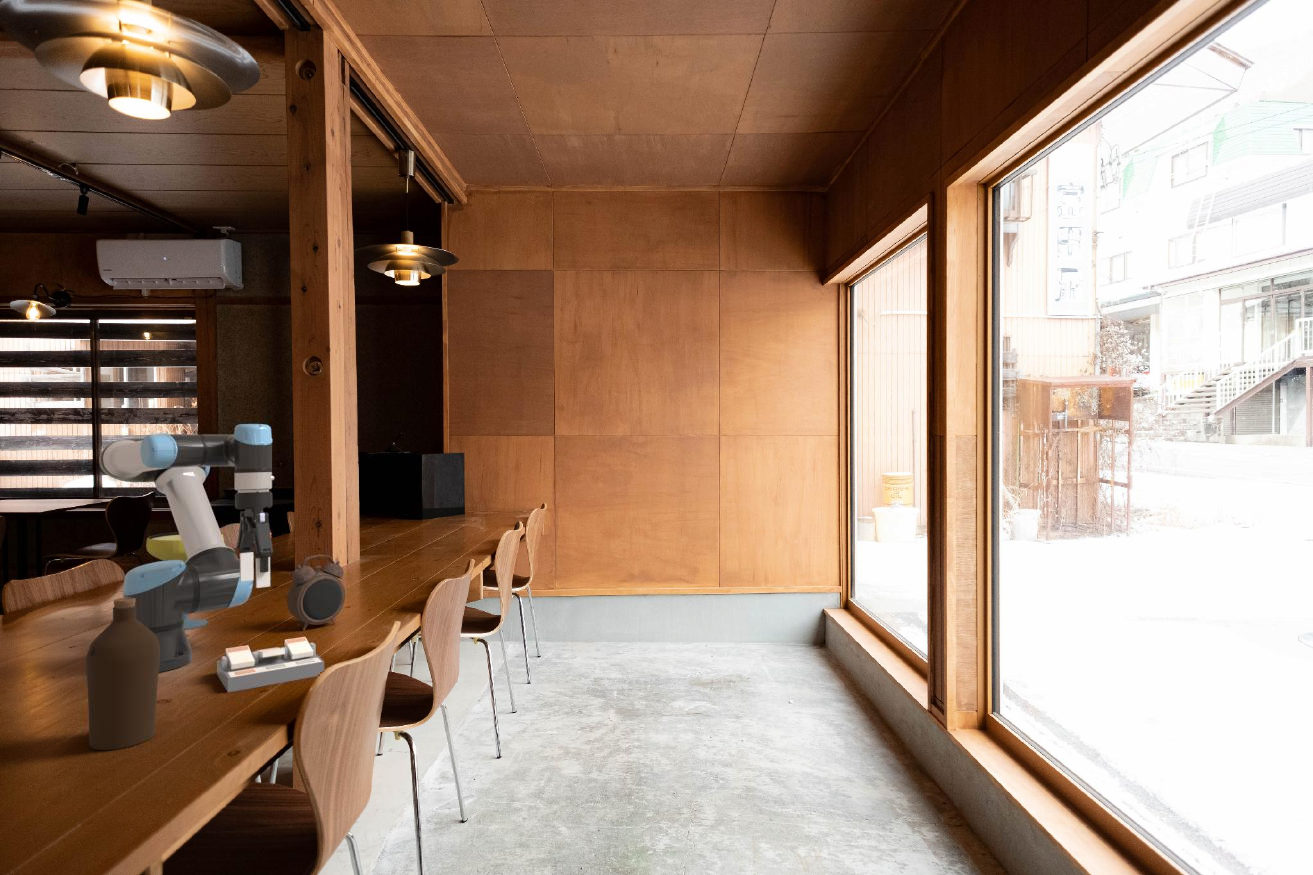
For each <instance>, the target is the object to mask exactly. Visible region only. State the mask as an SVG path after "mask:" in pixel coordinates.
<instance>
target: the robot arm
mask: <svg viewBox="0 0 1313 875" xmlns="http://www.w3.org/2000/svg"><path fill="white" fill-rule="evenodd" d="M272 454H273V438H272V428H271V426H270V425H268V424H262V423H260V424H259V423H248V424H247V423H245V424H244V423H243V424H237V425H235V427H234V432H233V434H186V433H185V434H183V433H182V434H181V433H180V434H179V433H178V434H177V433H176V434H175V433H173V434H172V433H156V434H155V433H152V434H151V433H150V434H147V435H146V436H144V437H143V438H138V437H137V438H128V439H127V438H125V439H121V440H116V441H113V442H110V443H109V444H107V445H106V446H104V447H103V449H102V450H101V451H100V454H99V458H98V461H99V467H100V468H101V470H102V471H103V472H104V473H105V474H106V475H107V476H109V477H110V478H113V479H115V480H118V481H121V482H127V483H154V485H155V488H156V489H157V492H159V493H162V494H163V495H165V496H166V499H167V501H168V505H169V508H170V511H171V514H172V517H173V519H174V523H175V525H176V528H177V531H178V532H179V534H180V537H181V540H182V543H183V546H184V549H185V552H186V555H187V557H188V559H187V561H186V562H185V563H184V562H183V561H181V560H169V561H164V560H161V561H155V562H151V563H145V564H143V565H139V566H136V567H134V568H132V569H131V570H129V571H127V573H126V574H125V576H124V579H123V580H124V581H123V590H122V595H123V598H124V597H134V598H136V602H135V605H136V619H137V620H138V621H139V622H140V623H142V624H143V625H144V626H146V627H147V628H148V629H149V630H151V631H152V632H153V633H154V634H155V635H156V637H157V639H158V641H159V645H160V660H159V673H162V672H166V671H171V670H175V669H178V668H181V667H184V666H185V665H186V666H187V664H189V663H191V662H192V661H193V649H192V647H191V646H192V645H191V644H190V641H189V639H188V637H187V633H186V631H185V630H184V615H192V614H197V613H203V612H204V613H205V612H210V611H217V610H221V609H222V610H223V609H226V610H227V609H230V608H232V607H233V608H234V607H239V606H242V605H243V604H245V603H247V601H249V598H250V597H251V594H252V591H253V590H252V589H253V584H254V577H255V588H256V589H259V588H267V587H271V556H272V555H273V556H274V549H273V542H272V535H271V530H270V529H271V528H270V522H269V521H270V520H269V517H270V515H269V512H264V509H270V508H272V507H273V493H272V491H270V490H271V489H272V488H273V481H274V480H275V476H274V475H273V472H272V471H273V468H272V467H273V465H272V463H273V461H272V460H273V456H272ZM211 467H212V468H213V467H224V468H225V467H228V468H229V467H231V468H232V467H234V490H235V491H237V492H236V493H235V494H234V507H235V509H236V510H244V511H240V512H239V518H240V519H239V528H238V537H237V542H236V543H237V545H236V549H237V550H238V551H239V558H238V554H237V553H236V550H235V548H234V549H233V548H232V547H231V546H227V545H226V544H225V540H223V537H222V535H221V533H222V532H221V529H220V527H219V524H218V522H217V520H216V516H215V514H214V510H213V509H212V505H211V503H210V501H209V500H210V499H209V498H208V495H207V492H206V490H205V488H204V485H203V484H204V482H205V481H206V478H208V475H209V473H210V470H211V469H210V468H211ZM254 552H256V553H255V554H254ZM254 559H255V569H254ZM254 570H255V572H254ZM254 574H255V576H254Z"/></svg>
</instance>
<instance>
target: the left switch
mask: <svg viewBox="0 0 1313 875" xmlns="http://www.w3.org/2000/svg"><path fill="white" fill-rule="evenodd" d="M225 655H226V658H227V660H228V662H229V664H230V667H231V670H232V669H238V668H244V667H250V666H254V664H255V660H254V658H253V656H252V651H251V649H250V647H249V645H241V646H236V647H235V646H234V647H229V648H225Z"/></svg>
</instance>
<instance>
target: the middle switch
mask: <svg viewBox="0 0 1313 875" xmlns="http://www.w3.org/2000/svg"><path fill="white" fill-rule="evenodd" d="M255 651H256V652H257V653H258V657H269V656H275V655H282V654H285V648H282V647H270V648H263V649H262V648H261V649H258V650H257V649H256V650H255Z"/></svg>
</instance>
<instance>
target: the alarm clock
mask: <svg viewBox="0 0 1313 875" xmlns="http://www.w3.org/2000/svg"><path fill="white" fill-rule="evenodd" d="M318 558H328V560H329V561H330V563H327V564H325V565H324V567H323V568H322V565H317V566H315V567H314V568H315V569H316V570H317V571H315V570H314V569H313V567H311V566H310V565H306V564H307V562H308V561H309V560H313V559H318ZM343 568H344V567H342V566H341V565H340V561H339V560H338V561H336V562H335V561H334V559H333V558H332V556H331V555H327V554H316V555H311V556H308V557H306V558H305V559H303V560H302V562H301V564H298V565H296V569H295V570H294V571H293V572H292V575H291V578H292V582H293V584H292V585H291V586H290V588H289V590H288V593H287V597H286V603H287V604H286V605H287V609H288V611H289V613H290V614H291V615H292V616H293V617H294V618H295V619H297V620H298V621H299V622H298V624H297V627H300V626H301V624H302V623H304V626H303V628H302V631H305V630H306V628H307V627H308V626H309V625H315V626H316V625H317V626H318V625H319V626H320V625H323V624H326V623H329V622H330V621H331V622H332V625H333V626H335V625H336V622H335V620H334V619H335V618H336V617H337V615H339V614H340V612H341V611H342V609H343V607H344V603H345V600H346V589H345V587H344V584H343V582H342V581H341V579H343V577H344V573H345V571H344V569H343ZM320 569H321V571H320Z"/></svg>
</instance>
